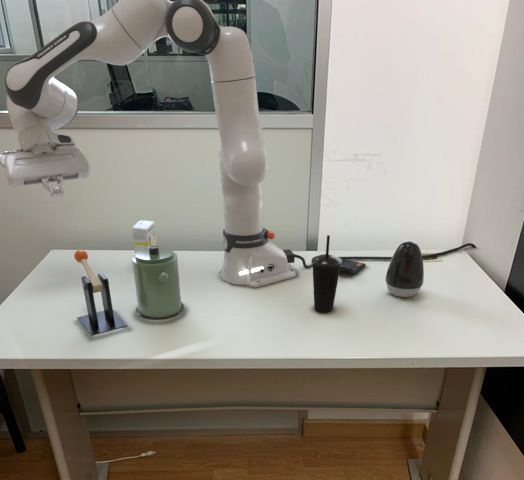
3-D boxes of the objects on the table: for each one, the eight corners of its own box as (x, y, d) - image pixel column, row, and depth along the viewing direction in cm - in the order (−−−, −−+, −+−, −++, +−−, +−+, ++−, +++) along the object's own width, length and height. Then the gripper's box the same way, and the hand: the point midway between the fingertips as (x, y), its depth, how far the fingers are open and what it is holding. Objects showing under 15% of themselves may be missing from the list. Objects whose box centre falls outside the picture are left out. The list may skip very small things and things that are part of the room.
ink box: (151, 265, 166) (146, 228, 160) (135, 265, 166) (131, 228, 160) (158, 255, 173) (154, 220, 167) (143, 255, 174) (139, 219, 168)
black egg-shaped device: (379, 297, 146) (386, 244, 138) (388, 283, 154) (395, 232, 146) (416, 304, 142) (425, 250, 134) (424, 289, 150) (433, 238, 143)
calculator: (365, 266, 165) (366, 257, 164) (349, 278, 157) (350, 269, 155) (338, 260, 169) (338, 251, 168) (321, 272, 161) (322, 262, 159)
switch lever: (72, 258, 132) (72, 248, 129) (85, 255, 133) (85, 245, 131) (91, 294, 126) (90, 285, 124) (104, 291, 128) (104, 282, 125)
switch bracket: (78, 321, 134) (68, 274, 127) (112, 312, 138) (105, 266, 131) (91, 339, 126) (82, 290, 119) (128, 329, 130) (121, 281, 123)
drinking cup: (340, 305, 142) (346, 232, 132) (334, 317, 136) (340, 242, 125) (313, 301, 144) (317, 229, 134) (305, 313, 138) (309, 238, 127)
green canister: (130, 303, 142) (121, 239, 133) (175, 296, 147) (169, 233, 137) (144, 332, 129) (135, 263, 119) (193, 323, 133) (189, 256, 124)
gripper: (-5, 143, 127) (13, 193, 125) (80, 136, 137) (98, 182, 135) (-4, 159, 133) (14, 207, 131) (78, 151, 143) (95, 196, 141)
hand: (57, 194), depth 133 cm, fingers closed
